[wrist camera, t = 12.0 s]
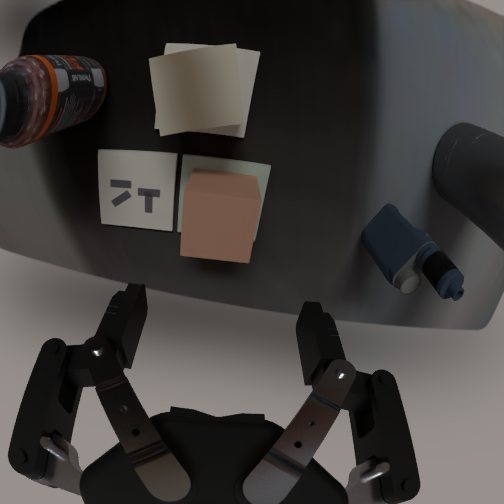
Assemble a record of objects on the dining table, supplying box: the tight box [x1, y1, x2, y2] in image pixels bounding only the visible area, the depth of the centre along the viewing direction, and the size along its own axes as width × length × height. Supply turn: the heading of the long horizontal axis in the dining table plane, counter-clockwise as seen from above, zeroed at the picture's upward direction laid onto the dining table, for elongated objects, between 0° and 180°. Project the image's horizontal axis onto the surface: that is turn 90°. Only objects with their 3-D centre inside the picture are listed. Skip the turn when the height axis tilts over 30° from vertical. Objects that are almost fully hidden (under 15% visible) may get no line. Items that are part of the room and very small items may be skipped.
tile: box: [155, 43, 260, 138], centre depth 18 cm, size 7×7×1 cm
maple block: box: [149, 44, 244, 136], centre depth 16 cm, size 5×5×5 cm
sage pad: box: [178, 154, 271, 241], centre depth 23 cm, size 7×7×1 cm
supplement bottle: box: [0, 55, 107, 148], centre depth 12 cm, size 6×6×11 cm
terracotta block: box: [180, 168, 262, 263], centre depth 21 cm, size 5×5×5 cm
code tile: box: [98, 149, 178, 231], centre depth 22 cm, size 7×7×1 cm
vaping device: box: [362, 203, 464, 301], centre depth 21 cm, size 3×5×12 cm, turn 145°
